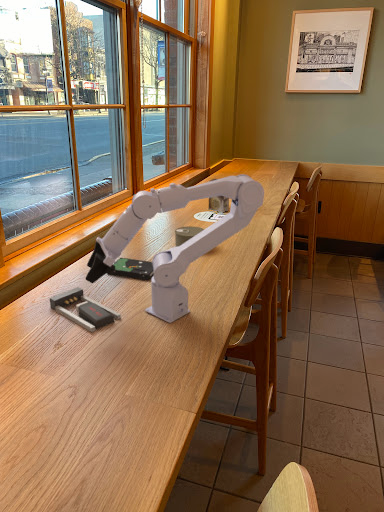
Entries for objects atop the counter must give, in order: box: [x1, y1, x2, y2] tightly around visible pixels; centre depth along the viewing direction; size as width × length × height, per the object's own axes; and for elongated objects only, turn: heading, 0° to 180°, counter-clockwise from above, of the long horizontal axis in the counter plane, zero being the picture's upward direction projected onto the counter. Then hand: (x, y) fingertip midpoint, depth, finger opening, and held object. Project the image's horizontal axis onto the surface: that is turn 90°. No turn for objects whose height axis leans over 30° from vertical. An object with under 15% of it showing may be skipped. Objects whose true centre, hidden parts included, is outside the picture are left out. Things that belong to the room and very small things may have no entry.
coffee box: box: [208, 178, 230, 213], centre depth 200 cm, size 9×6×16 cm
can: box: [174, 226, 205, 247], centre depth 149 cm, size 12×12×7 cm
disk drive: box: [106, 257, 154, 281], centre depth 128 cm, size 10×3×15 cm
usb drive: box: [75, 301, 115, 330], centre depth 101 cm, size 5×12×3 cm, turn 43°
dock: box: [48, 286, 122, 333], centre depth 102 cm, size 18×9×3 cm, turn 50°
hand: (89, 273), depth 98 cm, fingers open, 7 cm apart
